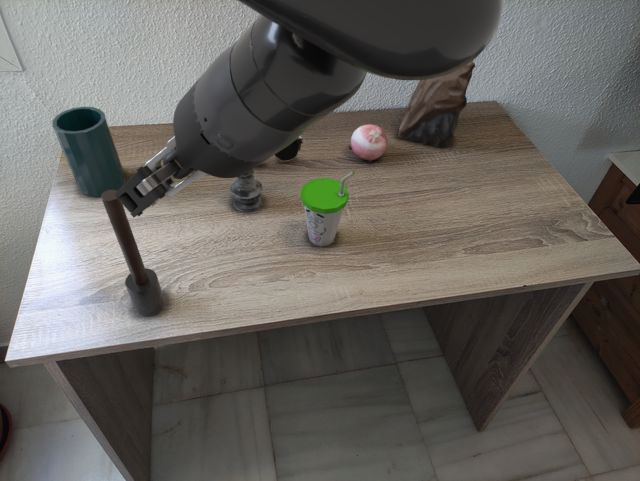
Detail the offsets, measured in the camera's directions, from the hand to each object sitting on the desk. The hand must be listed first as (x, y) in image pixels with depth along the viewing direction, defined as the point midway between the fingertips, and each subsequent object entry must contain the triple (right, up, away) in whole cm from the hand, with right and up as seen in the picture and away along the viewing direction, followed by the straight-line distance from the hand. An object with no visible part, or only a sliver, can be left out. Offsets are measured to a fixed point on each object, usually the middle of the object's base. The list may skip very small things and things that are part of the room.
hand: (166, 179), depth 46 cm
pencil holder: (-27, +5, +44) cm, 52 cm away
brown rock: (+39, +19, +61) cm, 75 cm away
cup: (+16, -6, +37) cm, 40 cm away
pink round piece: (+25, +12, +54) cm, 61 cm away
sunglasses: (+3, +15, +56) cm, 58 cm away
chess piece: (+2, +1, +42) cm, 42 cm away
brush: (-11, -16, +25) cm, 32 cm away
